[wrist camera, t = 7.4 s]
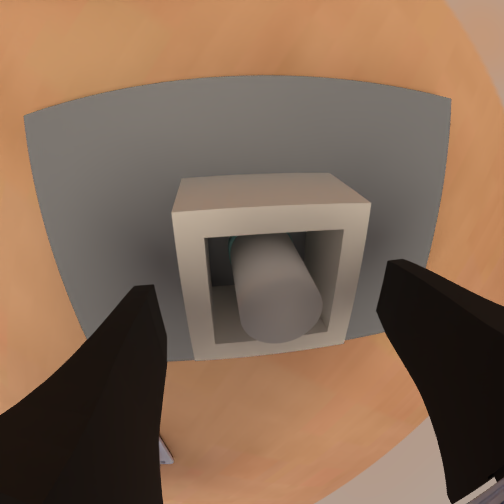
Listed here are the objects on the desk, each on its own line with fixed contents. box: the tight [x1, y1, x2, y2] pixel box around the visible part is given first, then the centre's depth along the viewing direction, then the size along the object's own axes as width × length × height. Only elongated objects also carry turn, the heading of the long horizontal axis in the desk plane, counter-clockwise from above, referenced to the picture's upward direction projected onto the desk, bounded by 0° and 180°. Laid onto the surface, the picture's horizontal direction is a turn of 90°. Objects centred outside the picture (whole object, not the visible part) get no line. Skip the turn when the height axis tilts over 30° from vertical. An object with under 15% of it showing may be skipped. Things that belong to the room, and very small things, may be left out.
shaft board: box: [24, 75, 451, 362], centre depth 11 cm, size 18×13×6 cm
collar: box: [171, 173, 371, 361], centre depth 11 cm, size 6×6×4 cm
